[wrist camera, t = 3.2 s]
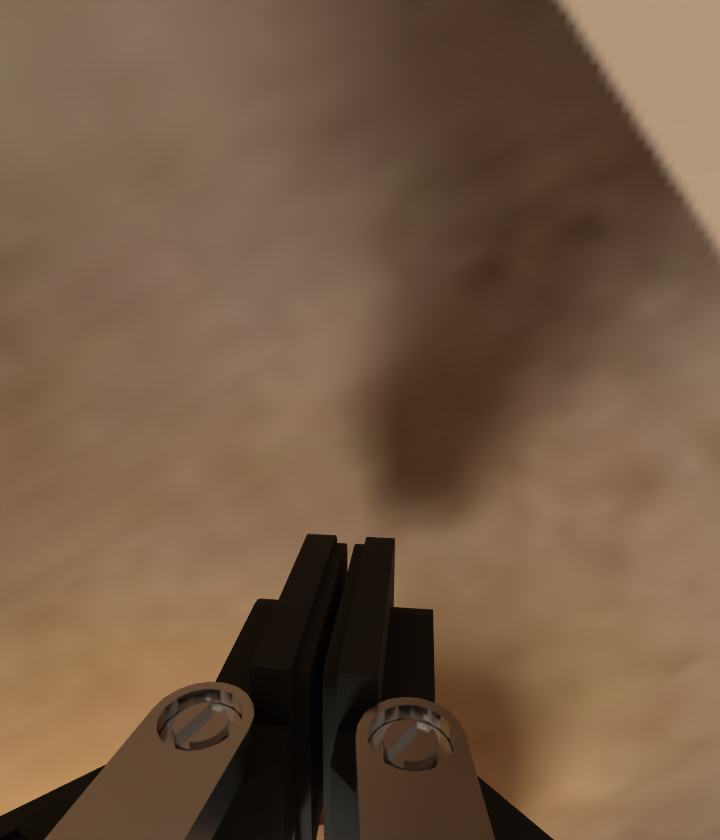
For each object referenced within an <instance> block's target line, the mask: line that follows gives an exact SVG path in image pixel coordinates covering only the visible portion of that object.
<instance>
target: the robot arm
mask: <svg viewBox="0 0 720 840" xmlns="http://www.w3.org/2000/svg"><path fill="white" fill-rule="evenodd" d="M394 563H395V538H376V537H366V541H365V544H355V545H354V549H353V553H352V557H351V561H350V565H349V569H348V573H347V544H346V543H337V537H336V535H318V534H308V535H307V536H306V538H305V541H304V543H303V545H302V548H301V550H300V552H299V554H298V557H297V559H296V561H295V563H294V566H293V568H292V570H291V573H290V575H289V577H288V579H287V582H286V584H285V586H284V589H283V591H282V593H281V595H280V598H279V600H274V599H258V600H257V601H256V603H255V604H254V606H253V608H252V610H251V612H250V614H249V616H248V618H247V620H246V622H245V624H244V626H243V628H242V630H241V632H240V634H239V636H238V638H237V640H236V642H235V644H234V646H233V648H232V650H231V652H230V654H229V656H228V658H227V660H226V662H225V664H224V666H223V668H222V670H221V672H220V674H219V676H218V678H217V680H216V682H205V683H197V684H193V685H190V686H187V687H184V688H181V689H178V690H177V691H175V692H173V693H171V694H170V695H168V696H166V697H165V698H163V699H162V700H161V701H160V702H159V703H158V704H157V705H156V706H155V707H154V708H153V709H152V710H151V711H150V713H149V714H148V715H147V716H146V717H145V719H144V720H143V721H142V722H141V723H140V725H139V726H138V727H137V728H136V729H135V731H134V732H133V733H132V734H131V735H130V737H129V738H128V739H127V740H126V741H125V743H124V744H123V745H122V746H121V748H120V749H119V750H118V751H117V752H116V754H115V755H114V756H113V757H112V758H111V760H110V761H109V762H108V763H107V764H106V765H104V766H102V767H100V768H98V769H96V770H94V771H92V772H90V773H88V774H86V775H84V776H82V777H80V778H78V779H75V780H73V781H71V782H69V783H67V784H65V785H63V786H61V787H59V788H57V789H55V790H53V791H51V792H49V793H47V794H45V795H43V796H41V797H39V798H37V799H35V800H33V801H30V802H28V803H26V804H24V805H22V806H20V807H18V808H16V809H14V810H12V811H10V812H8V813H6V814H4V815H2V816H0V840H316V839H317V834H318V828H319V823H320V818H321V813H322V807H323V803H324V840H553V839H552V838H551V837H550V836H549V835H547V834H546V833H545V832H544V831H543V830H541V829H540V828H539V827H538V826H537V825H535V824H534V823H533V822H532V821H531V820H529V819H528V818H527V817H526V816H525V815H524V814H522V813H521V812H520V811H519V810H518V809H516V808H515V807H514V806H513V805H512V804H510V803H509V802H508V801H507V800H506V799H504V798H503V797H502V796H501V795H500V794H498V793H497V792H496V791H495V790H494V789H492V788H491V787H490V786H489V785H488V784H486V783H485V782H484V781H483V780H482V779H480V778H479V777H478V776H477V773H476V770H475V766H474V763H473V759H472V755H471V752H470V748H469V745H468V741H467V738H466V734H465V732H464V730H463V728H462V726H461V724H460V722H459V721H458V720H457V719H456V718H455V717H454V716H453V715H452V713H451V712H450V711H448V710H447V709H445V708H443V707H442V706H440V705H438V704H436V703H435V679H434V632H433V610H431V609H415V608H399V607H394Z"/></svg>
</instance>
